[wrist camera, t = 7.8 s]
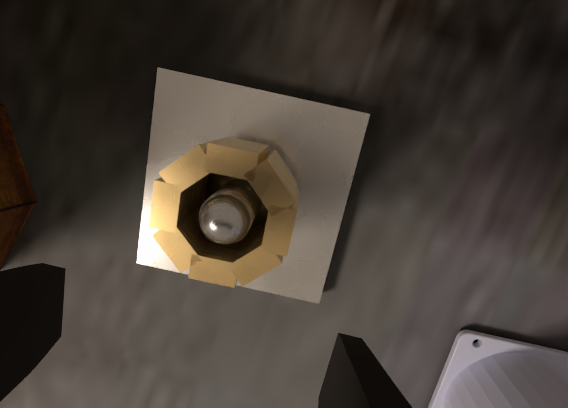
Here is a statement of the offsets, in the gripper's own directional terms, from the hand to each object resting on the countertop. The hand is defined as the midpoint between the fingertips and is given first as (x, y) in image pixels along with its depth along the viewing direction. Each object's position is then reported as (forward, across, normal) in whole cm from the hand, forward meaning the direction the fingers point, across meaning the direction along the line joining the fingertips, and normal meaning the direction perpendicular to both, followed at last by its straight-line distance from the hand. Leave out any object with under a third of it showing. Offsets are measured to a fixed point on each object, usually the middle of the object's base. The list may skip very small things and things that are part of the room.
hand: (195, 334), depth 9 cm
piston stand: (+10, +1, -2) cm, 10 cm away
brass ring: (+8, +1, -2) cm, 8 cm away
